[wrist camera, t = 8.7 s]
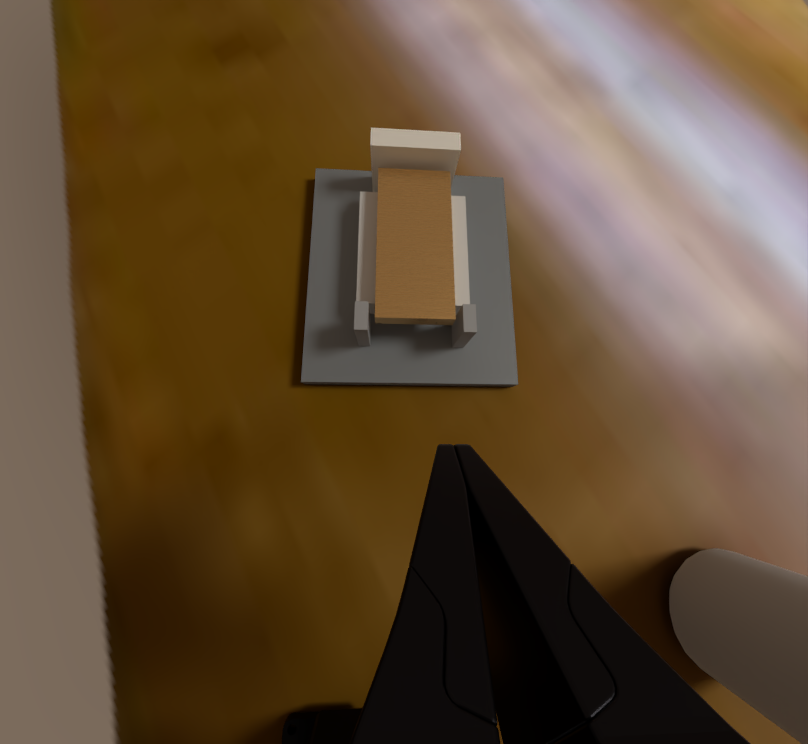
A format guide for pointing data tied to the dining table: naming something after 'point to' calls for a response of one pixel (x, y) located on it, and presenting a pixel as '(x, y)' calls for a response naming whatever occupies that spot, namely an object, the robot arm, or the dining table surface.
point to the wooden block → (414, 248)
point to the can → (747, 631)
